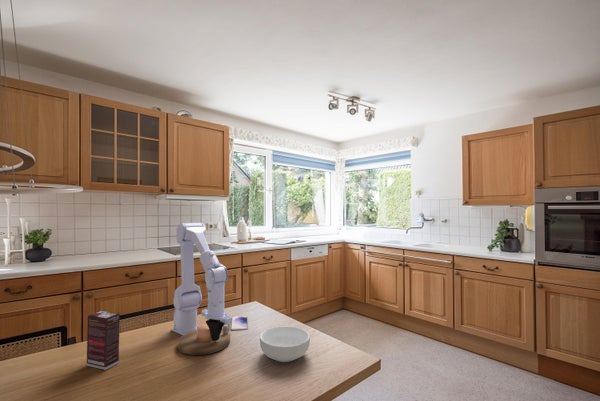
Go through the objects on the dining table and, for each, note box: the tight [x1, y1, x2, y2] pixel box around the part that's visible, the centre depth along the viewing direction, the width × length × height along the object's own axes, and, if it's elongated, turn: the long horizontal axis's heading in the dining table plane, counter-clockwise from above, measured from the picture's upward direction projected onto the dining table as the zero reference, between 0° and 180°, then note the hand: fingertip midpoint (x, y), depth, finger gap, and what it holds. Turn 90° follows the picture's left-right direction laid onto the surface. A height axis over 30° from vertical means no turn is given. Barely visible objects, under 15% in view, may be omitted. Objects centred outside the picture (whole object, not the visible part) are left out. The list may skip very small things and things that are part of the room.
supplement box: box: [86, 310, 121, 371], centre depth 93 cm, size 9×5×16 cm, turn 71°
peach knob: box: [197, 323, 212, 343], centre depth 106 cm, size 7×7×4 cm
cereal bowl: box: [259, 325, 311, 363], centre depth 98 cm, size 17×17×7 cm
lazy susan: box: [177, 325, 231, 356], centre depth 107 cm, size 18×18×5 cm
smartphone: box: [230, 315, 249, 332], centre depth 127 cm, size 7×1×15 cm
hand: (215, 340), depth 103 cm, fingers closed
